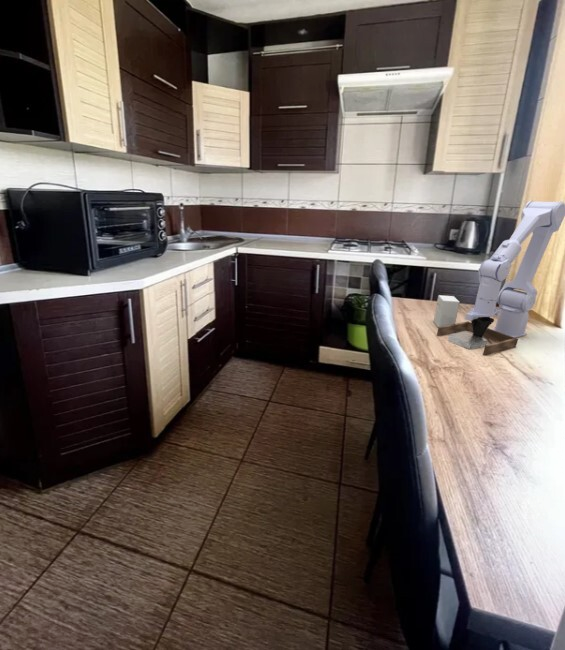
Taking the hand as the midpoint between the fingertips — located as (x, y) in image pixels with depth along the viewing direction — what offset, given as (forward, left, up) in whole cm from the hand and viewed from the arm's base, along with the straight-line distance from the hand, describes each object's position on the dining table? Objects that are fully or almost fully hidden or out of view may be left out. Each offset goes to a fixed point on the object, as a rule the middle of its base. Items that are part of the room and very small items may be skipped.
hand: (477, 337), depth 114 cm
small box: (-2, -15, -1) cm, 15 cm away
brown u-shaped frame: (+1, 0, -1) cm, 2 cm away
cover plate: (+5, 0, -2) cm, 5 cm away
